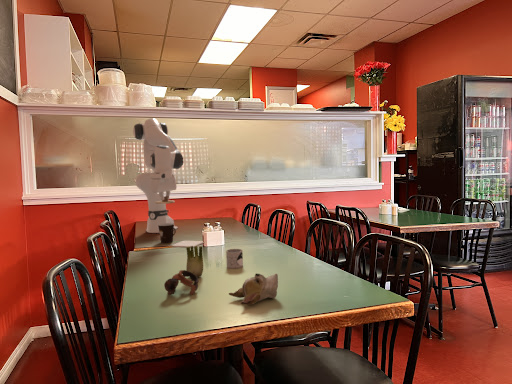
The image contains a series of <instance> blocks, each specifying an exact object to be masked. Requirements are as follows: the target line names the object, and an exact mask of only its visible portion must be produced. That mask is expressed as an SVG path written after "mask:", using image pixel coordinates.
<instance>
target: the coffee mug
mask: <svg viewBox="0 0 512 384" xmlns="http://www.w3.org/2000/svg"><path fill="white" fill-rule="evenodd" d="M174 226H175V223H174V224H173V223H165V224H159V225H158V227H159V233H158V234H159V237H160V243H161V244H170V243H173V242H174V236H175V234H176V230H177V229H175V228H174Z"/></svg>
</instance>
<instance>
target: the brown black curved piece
mask: <svg viewBox="0 0 512 384" xmlns="http://www.w3.org/2000/svg"><path fill="white" fill-rule="evenodd" d="M189 276H190V279H191V280H190V279H189V278H188V277H189ZM199 282H200V280H199V277H197V276H196V275H194V274H193V273H191V272H189V271H186V270H185V269H183V270H182V269H181V270H179V271H178V273H176V274H174V275H173V276H172V277H171V278H168V279H167V280H166V281H165V282H164V290H165V291H167V294H168V296H169V295H175V292H176V290H177V289H176V288H177V287H178V286H179V283H180V284H182V285H185V286H186V287H189V288H190V292H189V295H190V296H193V295H194V294H195V292H196V291H197V290H198V288H199Z"/></svg>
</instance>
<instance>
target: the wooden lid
mask: <svg viewBox="0 0 512 384" xmlns="http://www.w3.org/2000/svg"><path fill="white" fill-rule="evenodd" d="M164 197H165V200H162V201H156V204H166V205H167V204H174V203H175V200H173V199H172V200H171V199H168V196H166V195H165V196H164Z"/></svg>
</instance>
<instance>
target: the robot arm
mask: <svg viewBox="0 0 512 384" xmlns="http://www.w3.org/2000/svg"><path fill="white" fill-rule="evenodd" d="M132 134H133V136H134V138H135V139H136V140H139V141H142V140H143V142H142V145H143V146H142V150H143V151H142V153H143V159H144V165H145V166H146V167H147V168H148V169H151V170H152V171H153V172H144V173H139V174H137V176H136V177H135V182H134V183H135V186H136V187H137V189H139V190H140V191H141V192H142V193H144V195H145V196H146V199H147V203H148V204H147V205H148V206H147V207H148V211H147V214H148V215H147V216H148V218H147V223H146V224H147V225H146V229H145V231H146V232H147V233H150V234H151V233H152V234H156V233H157V234H160V233H159V227H158V225H159V224H165V223H173V224H174V228H175V230H177V229H178V227H179V226H176V225H175V220H174V219H173V218H172V217H170V216H169V215H168V213H170V211H171V210H170V209H167V204H156V201H162V200H165V197H164V194H165V196H168V200H170V195H171V192H172V191H176V190H177V188H178V187H177V181H176V180H177V179H176V177H175V174H174V173H173V169H174V170H179V169H180V168H181V167H182V166H183V165H184V156H183V154H182V153H181V151H180V150H179V149H178V147H177V145H176V144H175V142H174V140H173V139H172V137H171V136H170V135H168V134H169V129H168V126H167V124H166V123H164V122H159V120H157V119H156V118H154V117H153V118H148V119H146V120H145V121H144V122H143V123H136V124H134V125H133V129H132Z"/></svg>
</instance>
